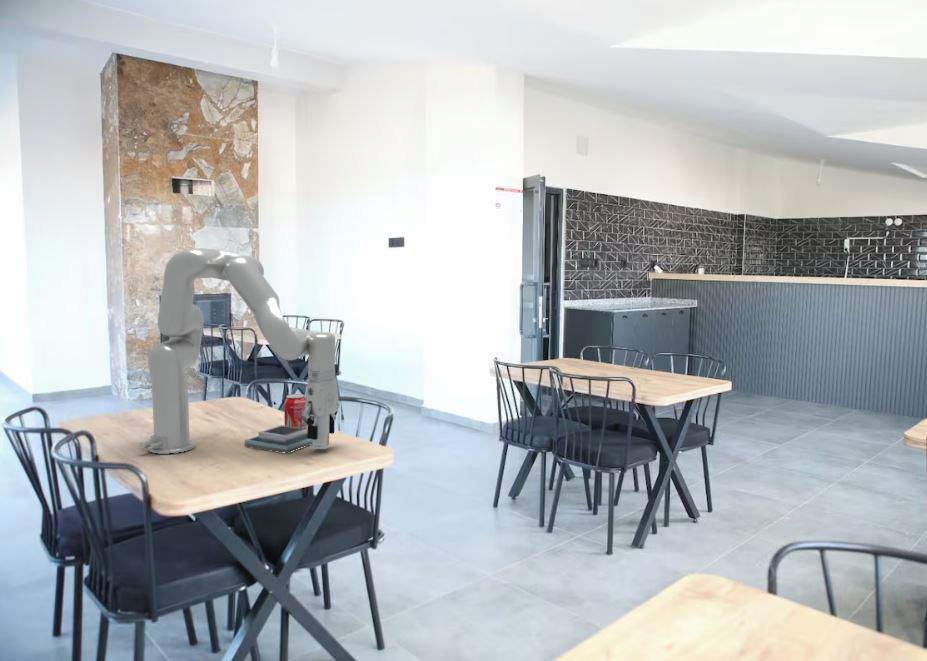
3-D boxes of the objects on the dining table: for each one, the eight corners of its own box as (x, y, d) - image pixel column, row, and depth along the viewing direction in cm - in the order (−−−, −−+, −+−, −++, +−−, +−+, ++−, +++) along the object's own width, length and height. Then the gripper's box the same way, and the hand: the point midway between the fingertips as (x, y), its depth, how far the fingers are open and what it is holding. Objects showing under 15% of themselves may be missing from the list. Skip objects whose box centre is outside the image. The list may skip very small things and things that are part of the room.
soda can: (287, 429, 220) (287, 393, 219) (309, 429, 220) (308, 393, 219) (282, 435, 213) (281, 397, 212) (304, 435, 213) (304, 397, 212)
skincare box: (327, 449, 193) (327, 408, 192) (312, 449, 193) (312, 408, 192) (329, 443, 199) (330, 404, 198) (315, 443, 199) (315, 403, 198)
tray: (287, 453, 192) (286, 439, 192) (244, 446, 199) (244, 432, 199) (320, 441, 206) (320, 428, 205) (279, 435, 213) (279, 422, 212)
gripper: (312, 381, 184) (312, 444, 186) (350, 372, 200) (349, 431, 202) (291, 378, 188) (290, 440, 190) (329, 370, 203) (329, 427, 205)
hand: (321, 435), depth 196 cm, fingers closed on skincare box, 7 cm apart
